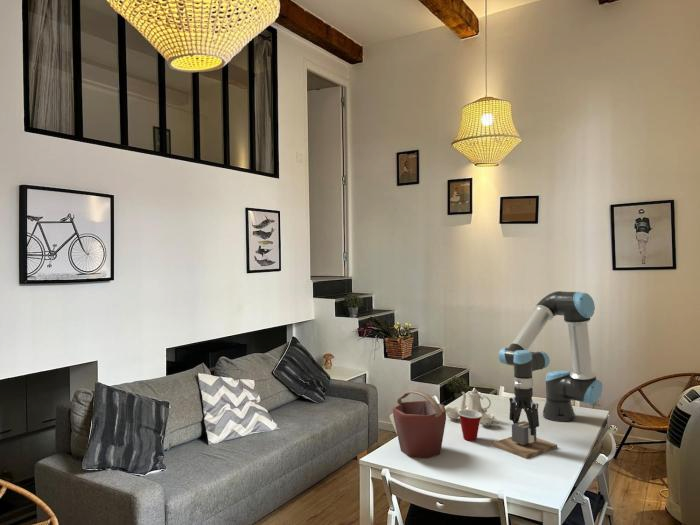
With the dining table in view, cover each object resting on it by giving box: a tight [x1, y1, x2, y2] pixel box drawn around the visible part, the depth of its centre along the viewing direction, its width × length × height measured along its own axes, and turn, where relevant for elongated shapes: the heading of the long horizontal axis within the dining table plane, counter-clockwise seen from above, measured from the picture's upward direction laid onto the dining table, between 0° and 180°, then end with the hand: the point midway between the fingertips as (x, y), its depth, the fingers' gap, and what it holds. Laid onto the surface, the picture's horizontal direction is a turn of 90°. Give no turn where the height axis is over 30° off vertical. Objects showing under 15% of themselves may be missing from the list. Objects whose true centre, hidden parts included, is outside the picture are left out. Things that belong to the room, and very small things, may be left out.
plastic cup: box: [458, 410, 482, 442], centre depth 243 cm, size 11×11×12 cm
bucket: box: [392, 390, 447, 460], centre depth 230 cm, size 24×22×25 cm
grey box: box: [511, 420, 537, 445], centre depth 231 cm, size 8×6×7 cm
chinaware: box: [445, 387, 498, 428], centre depth 267 cm, size 28×17×17 cm, turn 56°
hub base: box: [491, 436, 558, 459], centre depth 231 cm, size 20×18×6 cm
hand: (524, 440), depth 231 cm, fingers closed on grey box, 6 cm apart
